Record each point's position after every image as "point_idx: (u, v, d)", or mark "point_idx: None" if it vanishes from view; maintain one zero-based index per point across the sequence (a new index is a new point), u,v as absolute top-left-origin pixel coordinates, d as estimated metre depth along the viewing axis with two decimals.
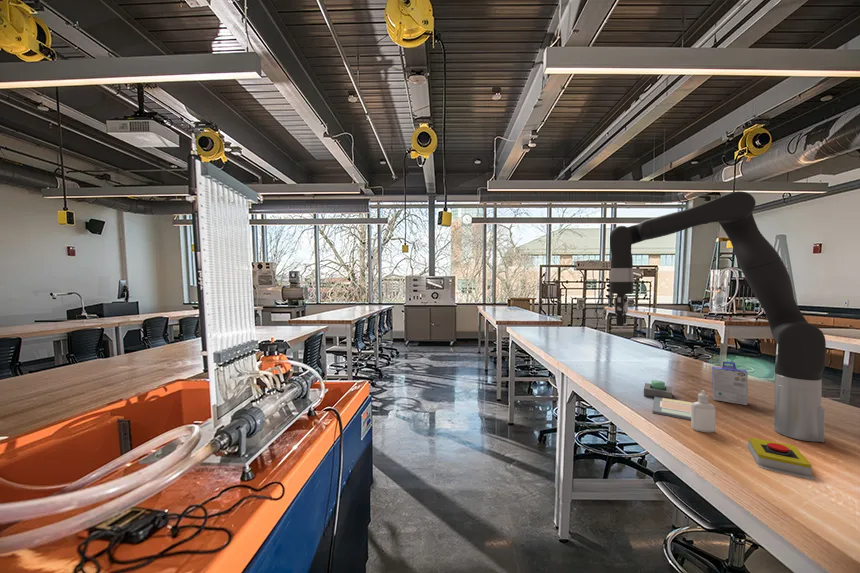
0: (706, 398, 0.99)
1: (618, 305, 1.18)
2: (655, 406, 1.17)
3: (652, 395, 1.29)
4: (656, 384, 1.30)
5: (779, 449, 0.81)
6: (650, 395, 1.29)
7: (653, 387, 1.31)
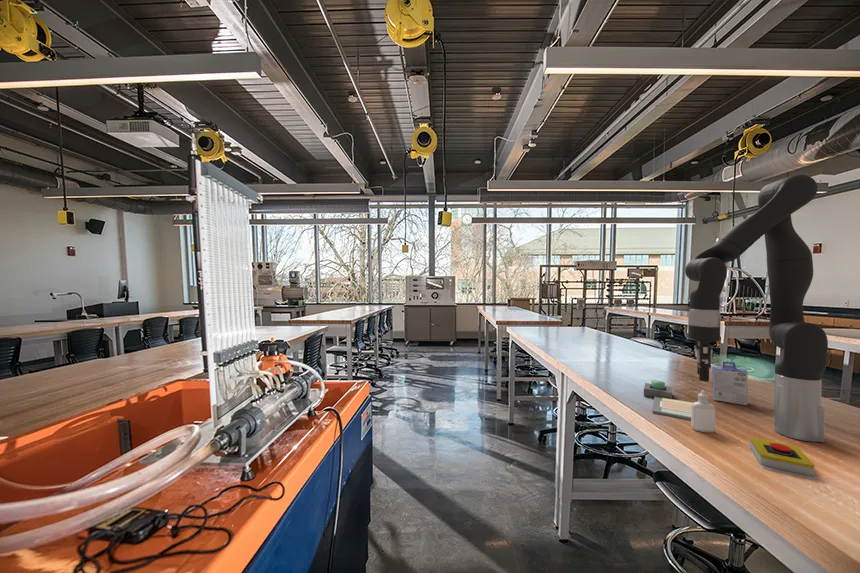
0: (706, 398, 0.99)
1: (704, 357, 0.95)
2: (655, 406, 1.17)
3: (652, 395, 1.29)
4: (656, 384, 1.30)
5: (781, 449, 0.81)
6: (650, 395, 1.29)
7: (653, 387, 1.31)
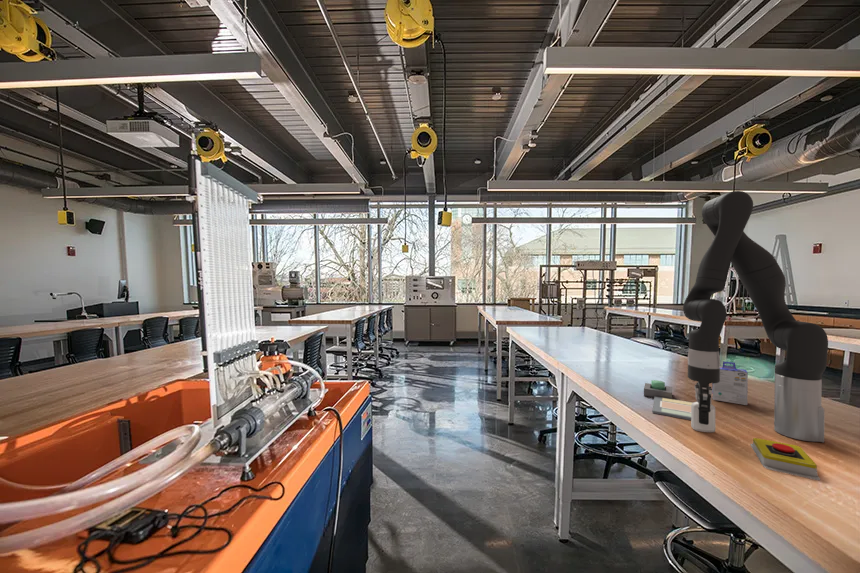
0: None
1: (703, 403, 0.96)
2: (655, 406, 1.17)
3: (652, 395, 1.29)
4: (656, 384, 1.30)
5: (784, 450, 0.81)
6: (650, 395, 1.29)
7: (653, 387, 1.31)
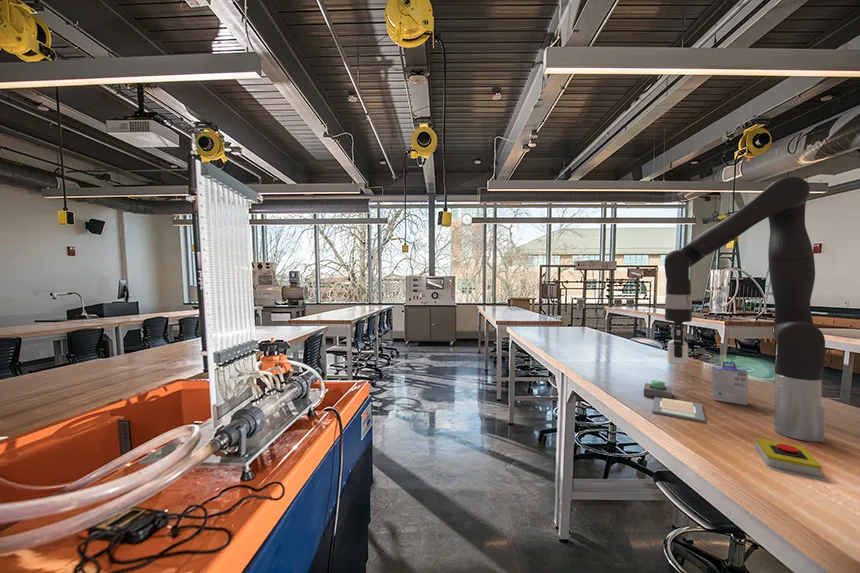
0: None
1: (677, 338, 1.12)
2: (655, 406, 1.17)
3: (652, 395, 1.29)
4: (656, 384, 1.30)
5: (788, 450, 0.81)
6: (650, 395, 1.29)
7: (653, 387, 1.31)
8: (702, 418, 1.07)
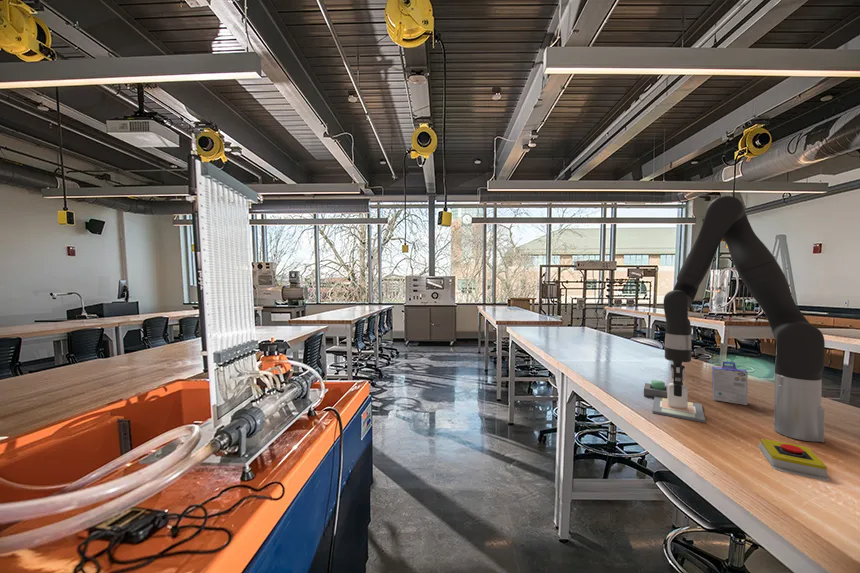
0: None
1: (677, 376, 1.11)
2: (655, 406, 1.17)
3: (652, 395, 1.29)
4: (656, 384, 1.30)
5: (793, 450, 0.81)
6: (650, 395, 1.29)
7: (653, 387, 1.31)
8: (702, 418, 1.07)
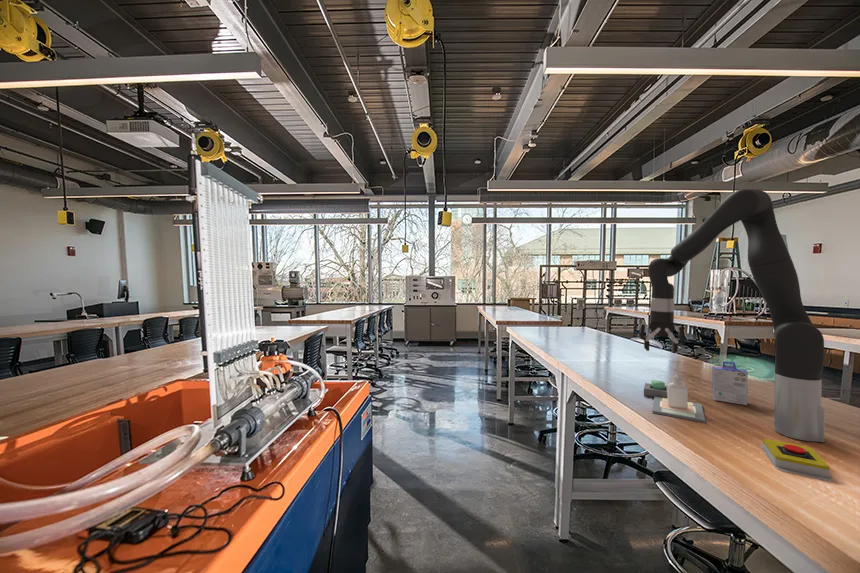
0: (679, 379, 1.16)
1: (640, 331, 1.31)
2: (655, 406, 1.17)
3: (652, 395, 1.29)
4: (656, 384, 1.30)
5: (796, 451, 0.80)
6: (650, 395, 1.29)
7: (653, 387, 1.31)
8: (702, 418, 1.07)
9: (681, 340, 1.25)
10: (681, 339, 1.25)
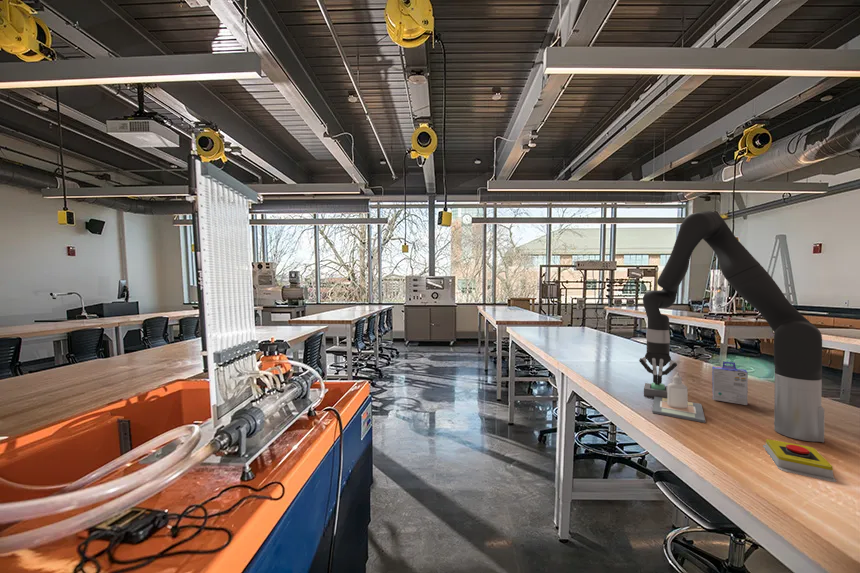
0: (679, 379, 1.16)
1: (644, 366, 1.34)
2: (655, 406, 1.17)
3: (652, 395, 1.29)
4: (656, 386, 1.30)
5: (799, 451, 0.80)
6: (650, 395, 1.29)
7: None
8: (702, 418, 1.07)
9: (665, 372, 1.29)
10: (664, 372, 1.29)
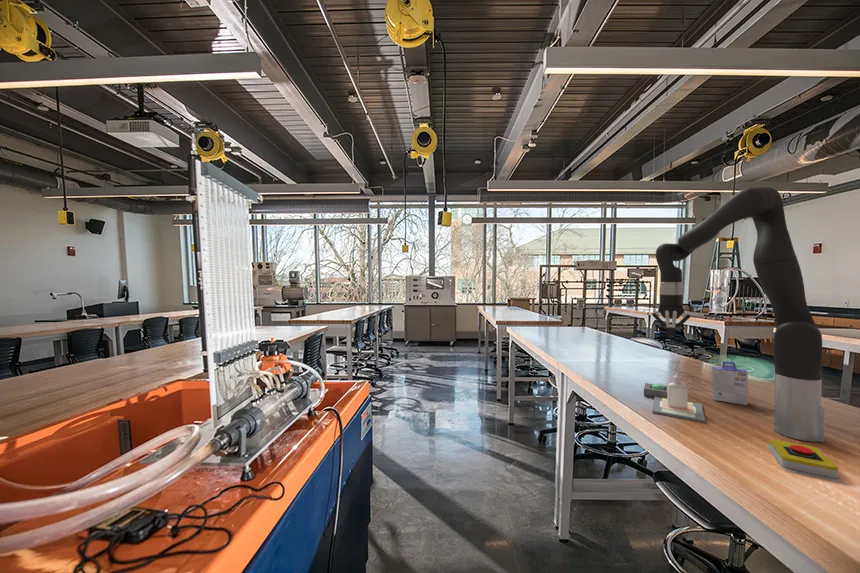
0: (679, 379, 1.16)
1: (657, 320, 1.35)
2: (655, 406, 1.17)
3: (652, 395, 1.29)
4: (656, 387, 1.30)
5: (803, 451, 0.80)
6: (650, 395, 1.29)
7: None
8: (702, 418, 1.07)
9: (678, 324, 1.30)
10: (678, 323, 1.30)
